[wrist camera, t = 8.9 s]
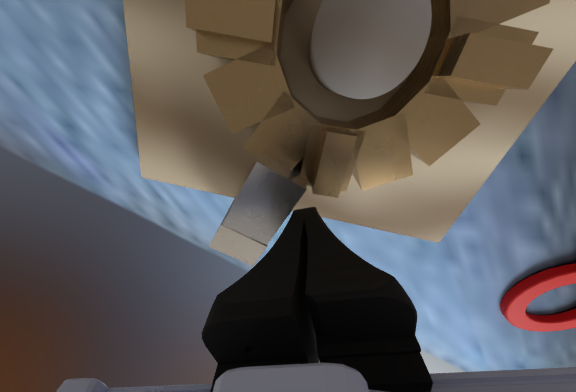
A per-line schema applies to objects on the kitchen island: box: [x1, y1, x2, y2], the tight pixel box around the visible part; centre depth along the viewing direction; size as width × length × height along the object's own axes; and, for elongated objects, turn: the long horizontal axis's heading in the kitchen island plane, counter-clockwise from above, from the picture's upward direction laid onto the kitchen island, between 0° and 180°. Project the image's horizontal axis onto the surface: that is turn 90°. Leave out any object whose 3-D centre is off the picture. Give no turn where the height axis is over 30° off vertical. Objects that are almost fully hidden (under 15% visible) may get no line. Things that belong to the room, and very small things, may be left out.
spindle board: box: [123, 0, 576, 243], centre depth 9 cm, size 18×20×5 cm
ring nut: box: [185, 0, 553, 266], centre depth 9 cm, size 12×16×4 cm
